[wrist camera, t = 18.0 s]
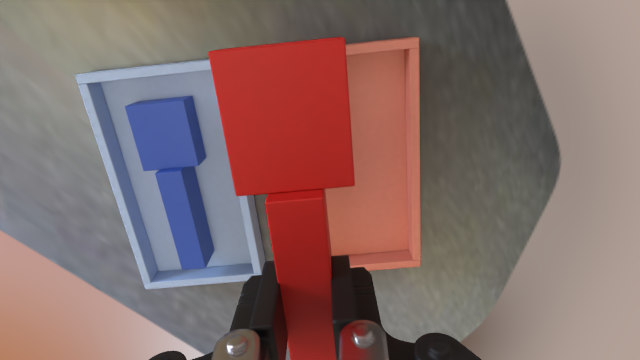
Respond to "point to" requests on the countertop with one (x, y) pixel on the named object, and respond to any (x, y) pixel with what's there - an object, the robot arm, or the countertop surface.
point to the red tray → (381, 159)
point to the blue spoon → (175, 170)
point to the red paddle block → (291, 165)
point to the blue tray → (141, 186)
